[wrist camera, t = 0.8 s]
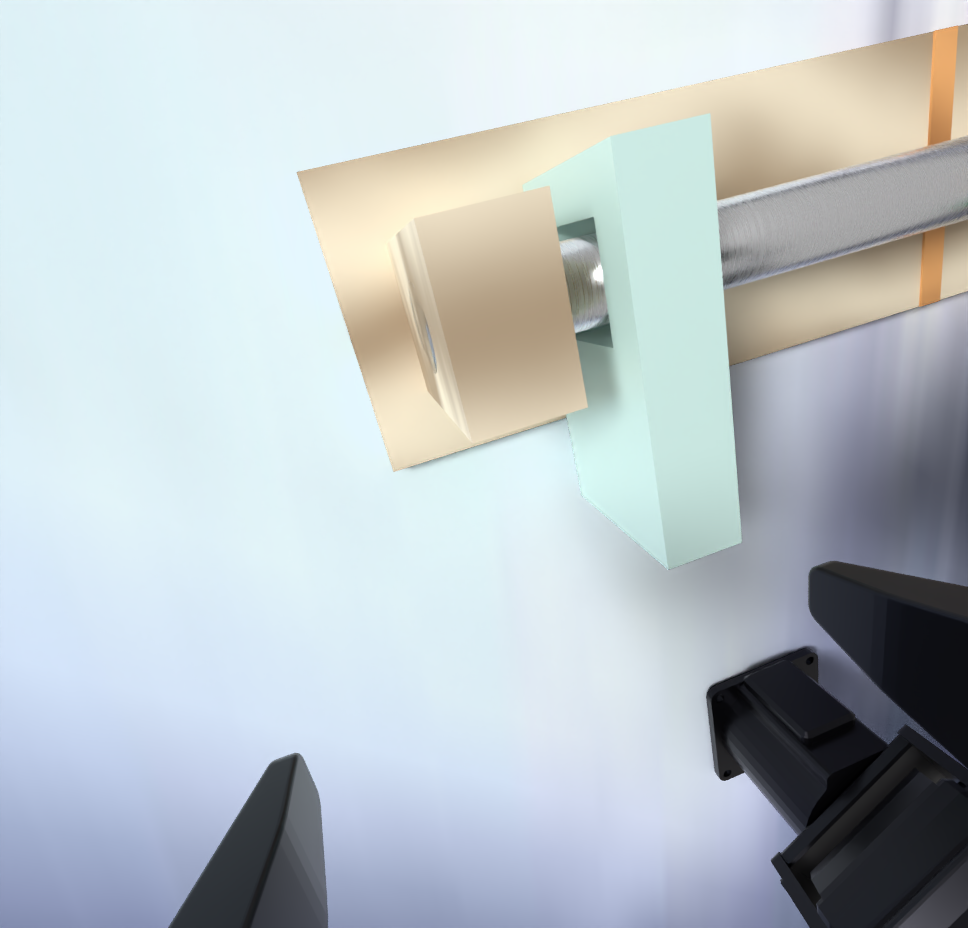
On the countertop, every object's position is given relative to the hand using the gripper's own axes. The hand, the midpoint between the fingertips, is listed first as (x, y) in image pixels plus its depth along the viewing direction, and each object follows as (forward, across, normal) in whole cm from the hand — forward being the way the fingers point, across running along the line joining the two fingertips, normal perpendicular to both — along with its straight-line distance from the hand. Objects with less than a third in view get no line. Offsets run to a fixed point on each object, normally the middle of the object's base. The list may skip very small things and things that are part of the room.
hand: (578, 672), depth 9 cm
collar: (+12, -6, -3) cm, 14 cm away
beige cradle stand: (+13, -15, -6) cm, 21 cm away
